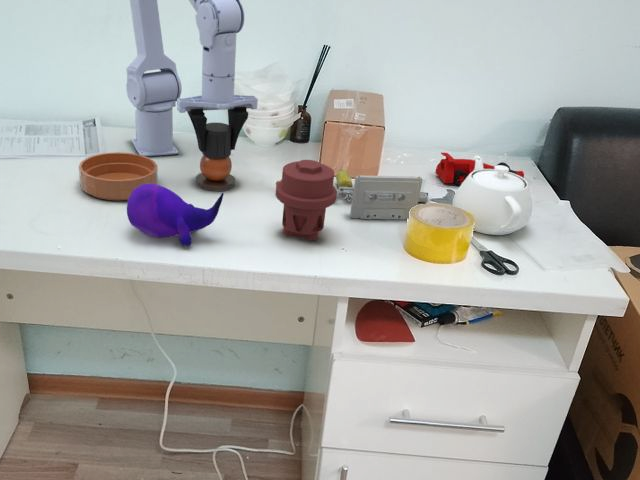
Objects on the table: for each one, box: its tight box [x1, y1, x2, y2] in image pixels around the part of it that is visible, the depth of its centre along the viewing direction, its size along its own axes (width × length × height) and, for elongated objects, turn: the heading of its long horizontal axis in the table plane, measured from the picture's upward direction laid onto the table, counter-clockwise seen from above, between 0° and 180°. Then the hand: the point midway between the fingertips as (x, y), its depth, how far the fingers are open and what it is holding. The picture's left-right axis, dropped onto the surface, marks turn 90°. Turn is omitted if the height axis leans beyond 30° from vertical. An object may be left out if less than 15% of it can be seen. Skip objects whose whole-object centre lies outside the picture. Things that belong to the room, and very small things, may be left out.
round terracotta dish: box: [78, 151, 159, 202], centre depth 132 cm, size 14×14×4 cm
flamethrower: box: [275, 169, 429, 203], centre depth 137 cm, size 29×3×10 cm
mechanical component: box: [275, 159, 338, 242], centre depth 118 cm, size 12×10×10 cm
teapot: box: [451, 155, 533, 236], centre depth 127 cm, size 22×14×11 cm, turn 5°
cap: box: [201, 122, 232, 159], centre depth 133 cm, size 5×5×5 cm
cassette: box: [349, 175, 424, 220], centre depth 127 cm, size 12×2×8 cm, turn 96°
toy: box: [126, 184, 225, 247], centre depth 116 cm, size 9×10×15 cm
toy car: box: [434, 152, 525, 187], centre depth 146 cm, size 6×18×5 cm, turn 99°
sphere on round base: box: [194, 154, 236, 192], centre depth 136 cm, size 8×8×7 cm
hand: (216, 148), depth 134 cm, fingers closed on cap, 5 cm apart
